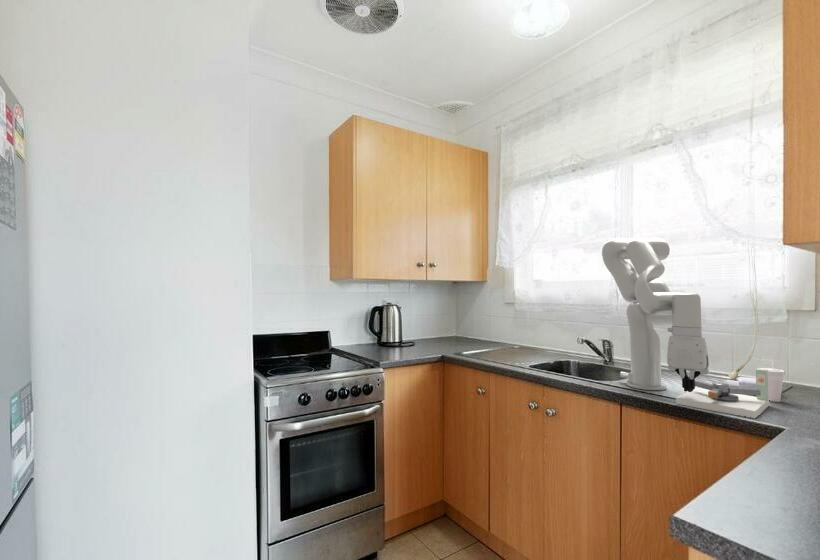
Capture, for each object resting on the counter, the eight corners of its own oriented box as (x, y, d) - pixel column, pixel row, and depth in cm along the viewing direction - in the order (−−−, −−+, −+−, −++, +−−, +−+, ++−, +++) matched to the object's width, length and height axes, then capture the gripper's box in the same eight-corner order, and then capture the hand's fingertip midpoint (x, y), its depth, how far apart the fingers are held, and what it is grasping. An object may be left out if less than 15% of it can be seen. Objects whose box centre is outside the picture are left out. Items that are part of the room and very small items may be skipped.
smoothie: (791, 403, 122) (789, 358, 123) (767, 402, 124) (766, 357, 124) (776, 397, 129) (775, 354, 129) (754, 397, 130) (752, 354, 130)
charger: (719, 386, 145) (774, 392, 136) (719, 392, 137) (778, 399, 128) (718, 373, 145) (773, 379, 136) (719, 378, 137) (777, 384, 128)
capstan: (677, 397, 122) (677, 383, 122) (693, 389, 131) (692, 376, 132) (750, 410, 109) (749, 394, 109) (761, 400, 118) (761, 386, 118)
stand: (675, 403, 123) (674, 368, 123) (695, 393, 135) (694, 361, 135) (755, 418, 108) (754, 378, 109) (769, 405, 120) (768, 369, 121)
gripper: (655, 331, 127) (657, 388, 127) (712, 335, 116) (714, 398, 115) (664, 329, 132) (666, 384, 131) (719, 333, 120) (721, 393, 120)
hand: (688, 390), depth 123 cm, fingers closed
